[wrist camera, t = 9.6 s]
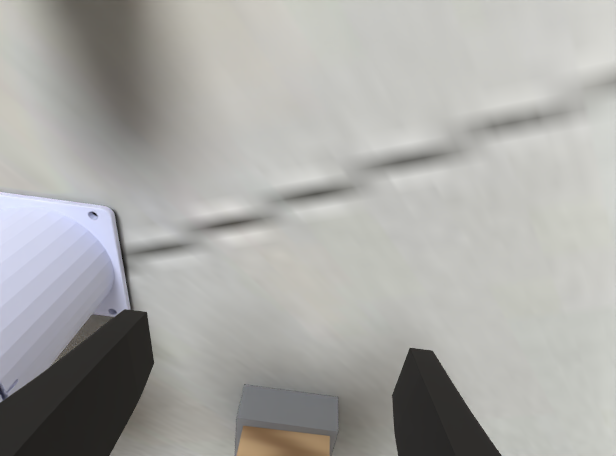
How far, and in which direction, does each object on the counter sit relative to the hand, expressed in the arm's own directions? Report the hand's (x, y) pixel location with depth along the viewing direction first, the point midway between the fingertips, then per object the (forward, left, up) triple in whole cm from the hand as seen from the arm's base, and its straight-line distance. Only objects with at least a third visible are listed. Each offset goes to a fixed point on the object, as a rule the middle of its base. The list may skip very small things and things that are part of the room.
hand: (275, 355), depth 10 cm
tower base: (+1, -19, -11) cm, 22 cm away
